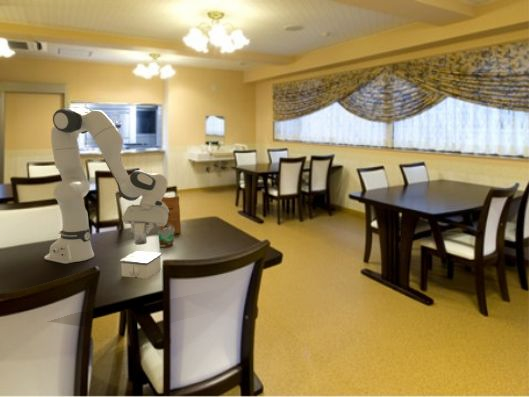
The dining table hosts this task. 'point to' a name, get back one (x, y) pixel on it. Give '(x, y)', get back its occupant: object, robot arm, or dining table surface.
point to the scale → (141, 269)
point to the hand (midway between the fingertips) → (139, 232)
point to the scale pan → (140, 257)
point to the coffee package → (173, 213)
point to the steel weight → (139, 233)
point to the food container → (166, 236)
